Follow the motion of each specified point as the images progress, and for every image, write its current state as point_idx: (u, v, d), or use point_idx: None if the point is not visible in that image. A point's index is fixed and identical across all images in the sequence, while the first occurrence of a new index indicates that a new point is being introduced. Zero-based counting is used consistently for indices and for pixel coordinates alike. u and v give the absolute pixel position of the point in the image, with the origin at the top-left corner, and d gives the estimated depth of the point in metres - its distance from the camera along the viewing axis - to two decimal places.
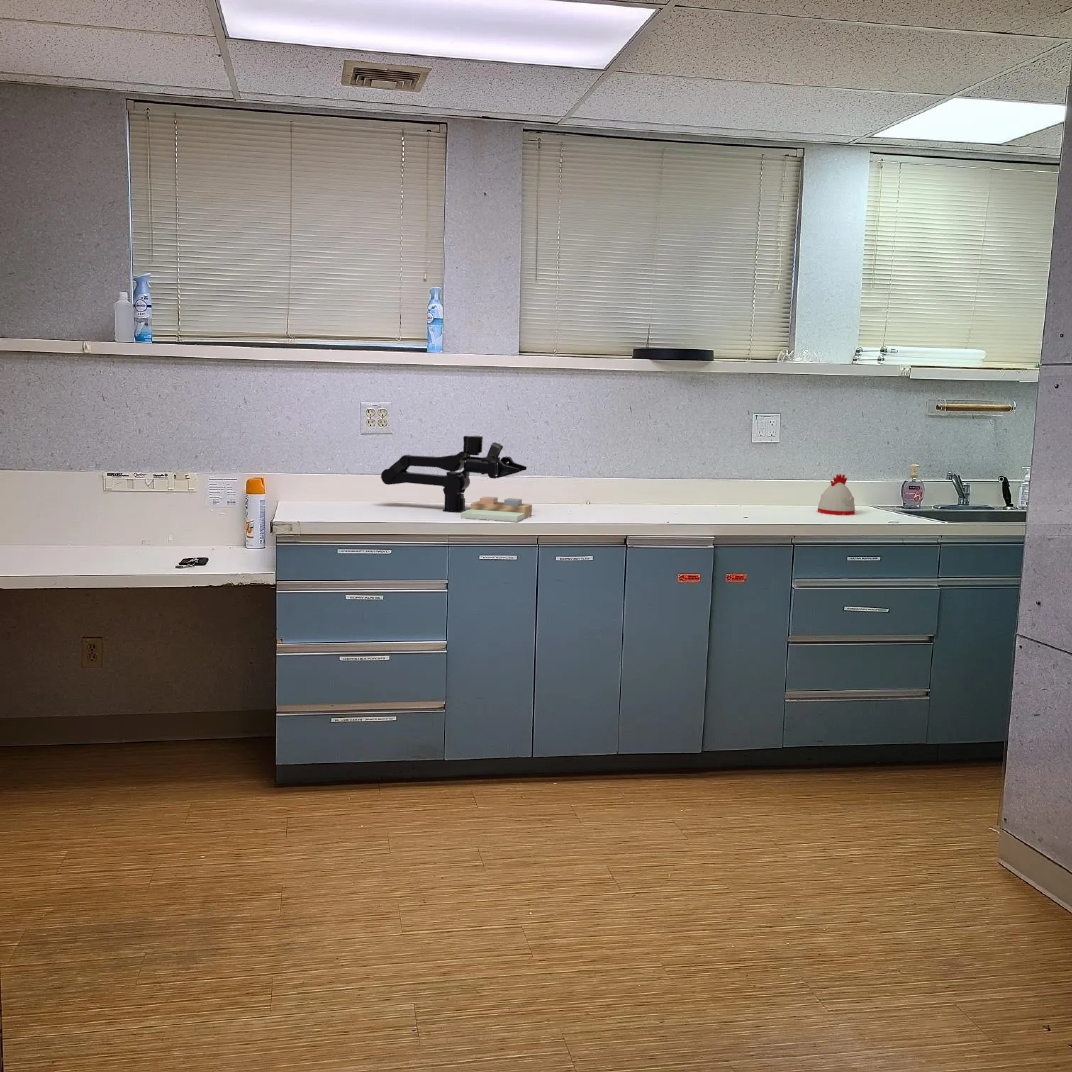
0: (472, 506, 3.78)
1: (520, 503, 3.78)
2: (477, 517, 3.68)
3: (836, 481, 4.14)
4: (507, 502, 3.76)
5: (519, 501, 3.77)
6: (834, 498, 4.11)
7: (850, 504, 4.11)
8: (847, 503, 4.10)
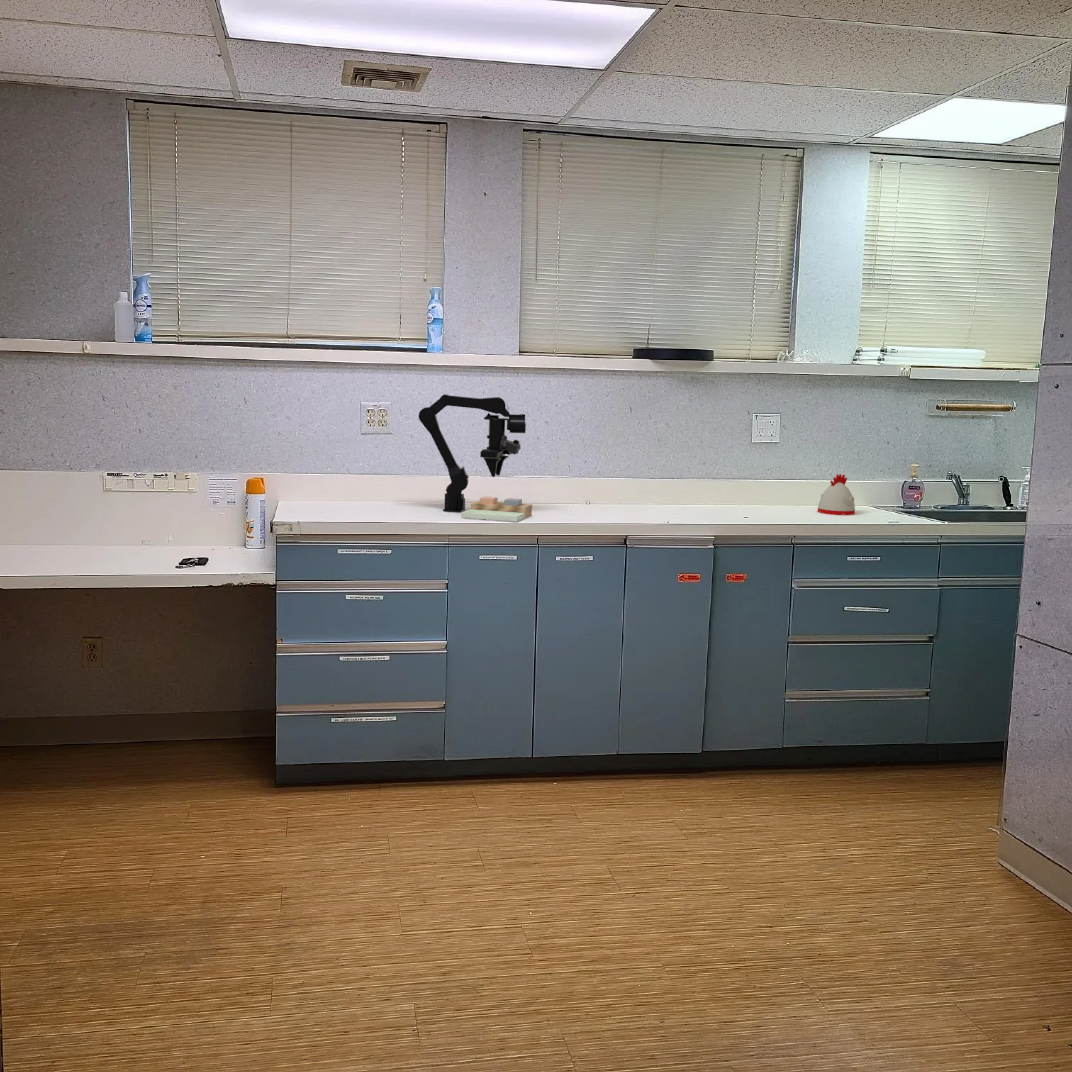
0: (472, 506, 3.78)
1: (520, 503, 3.78)
2: (477, 517, 3.68)
3: (836, 481, 4.14)
4: (507, 502, 3.76)
5: (519, 501, 3.77)
6: (833, 498, 4.11)
7: (850, 504, 4.11)
8: (847, 503, 4.10)
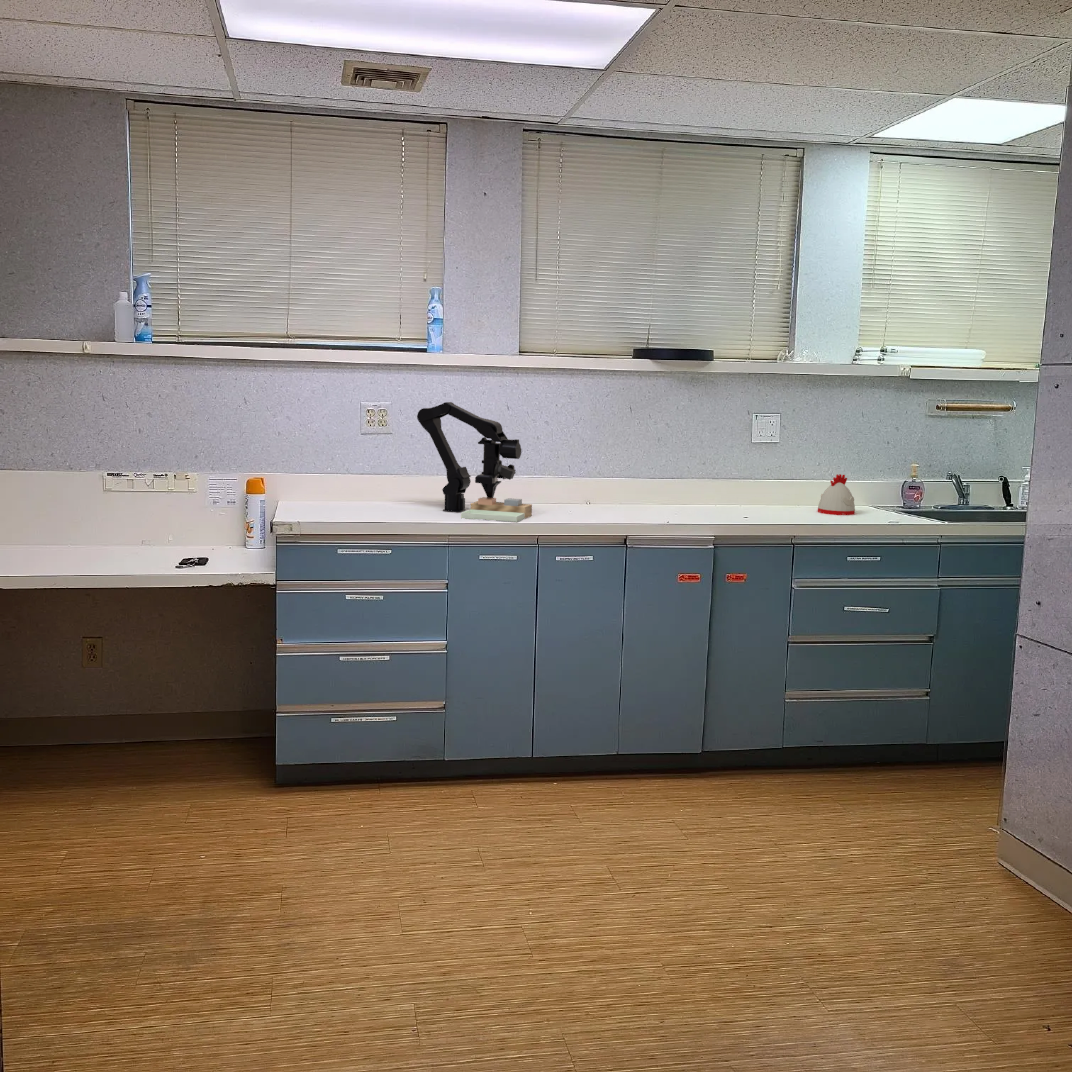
0: (472, 506, 3.78)
1: (520, 503, 3.78)
2: (477, 517, 3.68)
3: (836, 481, 4.14)
4: (507, 502, 3.76)
5: (519, 501, 3.77)
6: (834, 498, 4.11)
7: (850, 504, 4.11)
8: (847, 503, 4.10)
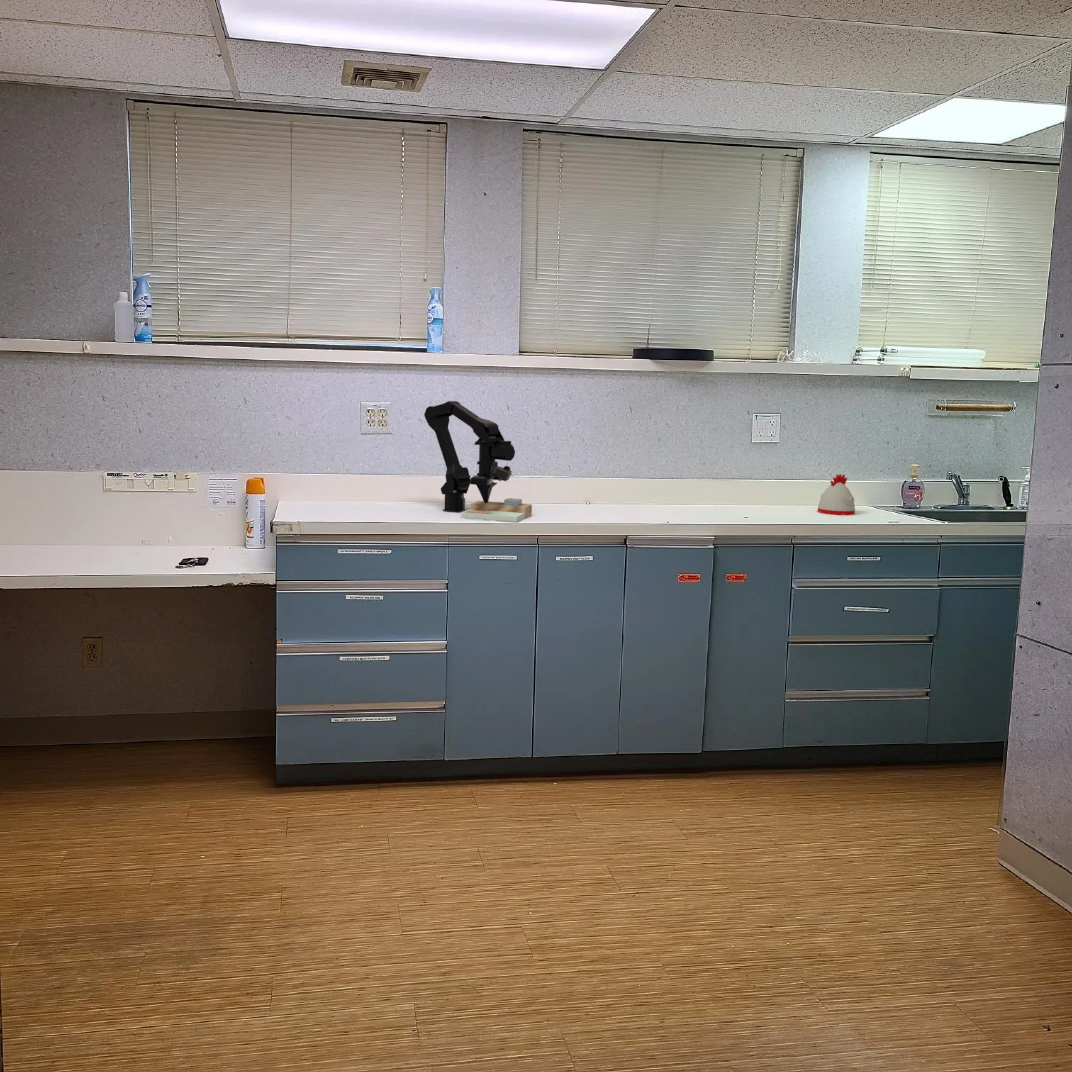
0: (472, 506, 3.78)
1: (520, 503, 3.78)
2: (477, 517, 3.68)
3: (836, 481, 4.14)
4: (507, 502, 3.76)
5: (519, 501, 3.77)
6: (834, 498, 4.11)
7: (850, 504, 4.11)
8: (847, 503, 4.10)
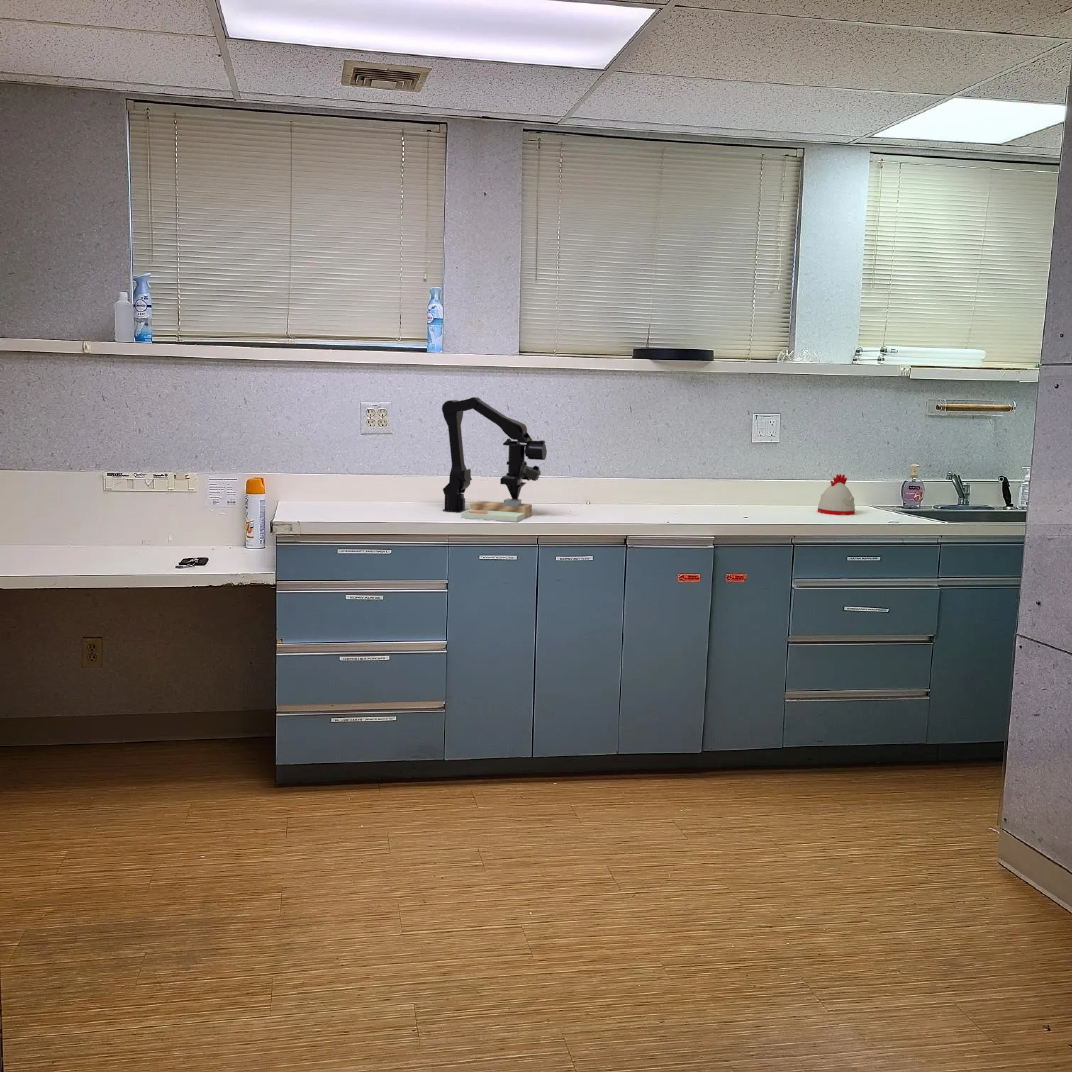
0: (472, 506, 3.78)
1: (519, 503, 3.77)
2: (477, 517, 3.68)
3: (836, 481, 4.14)
4: (506, 502, 3.75)
5: (518, 501, 3.76)
6: (834, 498, 4.11)
7: (850, 504, 4.11)
8: (847, 503, 4.10)
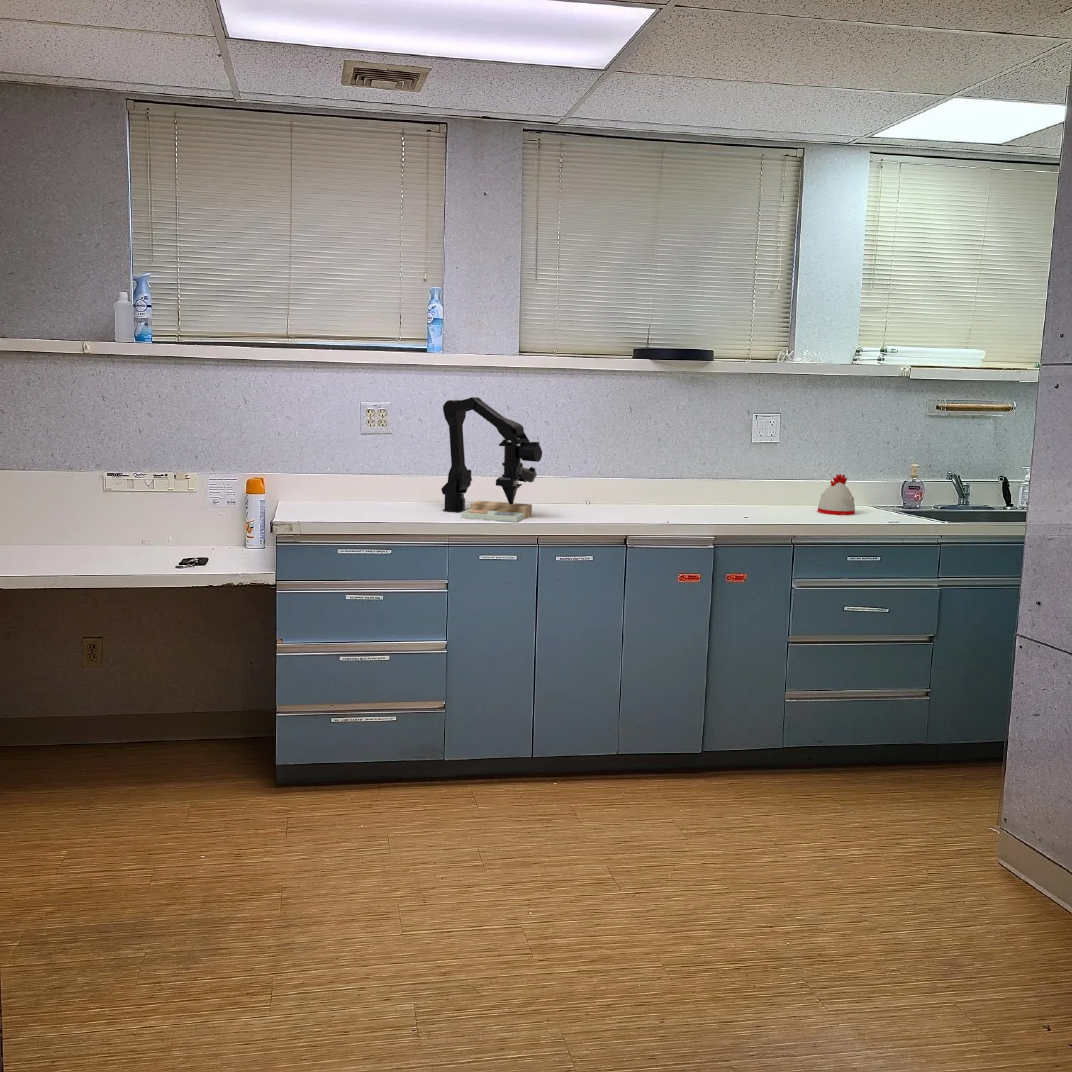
0: (472, 506, 3.78)
1: (509, 515, 3.68)
2: (477, 517, 3.68)
3: (836, 481, 4.14)
4: None
5: None
6: (834, 498, 4.11)
7: (850, 504, 4.11)
8: (847, 503, 4.10)
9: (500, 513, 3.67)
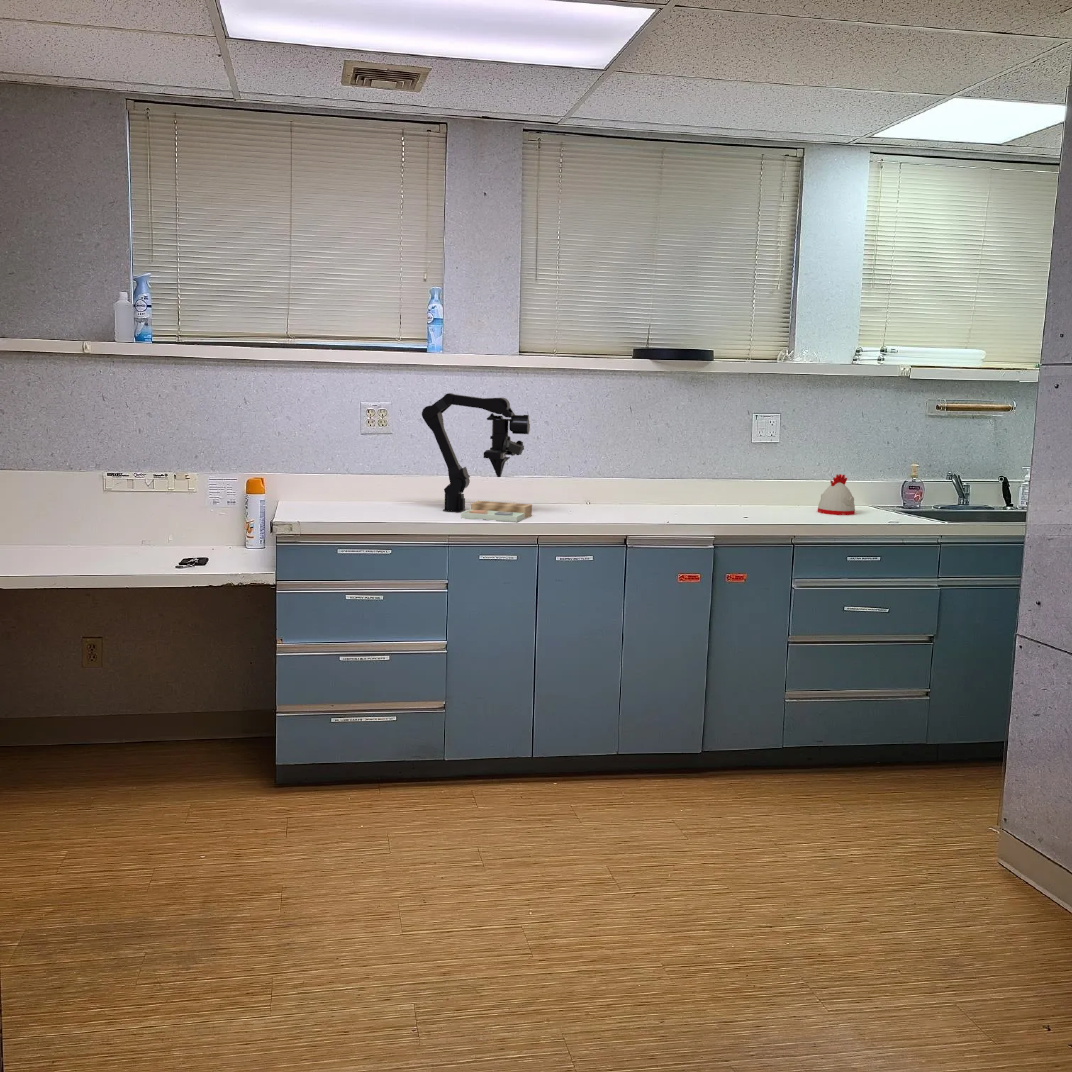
0: (472, 506, 3.78)
1: (509, 515, 3.68)
2: (477, 517, 3.68)
3: (836, 481, 4.14)
4: None
5: None
6: (834, 498, 4.11)
7: (850, 504, 4.11)
8: (847, 503, 4.10)
9: (500, 513, 3.67)
